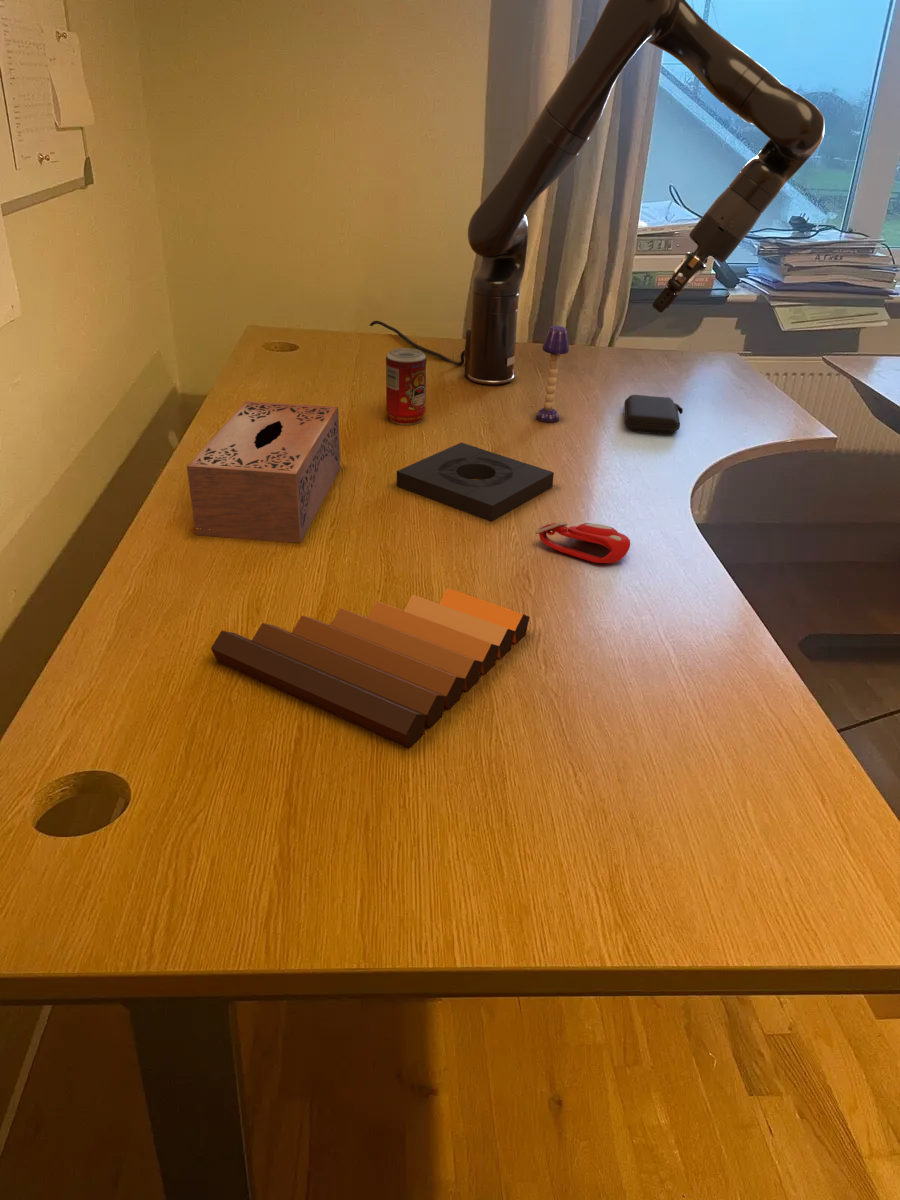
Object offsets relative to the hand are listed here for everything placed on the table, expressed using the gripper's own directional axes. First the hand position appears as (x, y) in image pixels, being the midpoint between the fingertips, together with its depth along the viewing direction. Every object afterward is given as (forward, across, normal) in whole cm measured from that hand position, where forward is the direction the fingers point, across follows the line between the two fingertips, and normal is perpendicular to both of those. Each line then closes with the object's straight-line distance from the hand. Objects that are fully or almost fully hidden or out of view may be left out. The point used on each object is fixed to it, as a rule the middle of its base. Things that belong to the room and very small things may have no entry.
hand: (659, 307), depth 154 cm
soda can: (+40, +14, -22) cm, 48 cm away
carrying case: (+16, -2, +12) cm, 21 cm away
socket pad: (+32, +37, -4) cm, 49 cm away
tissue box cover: (+48, +52, -25) cm, 75 cm away
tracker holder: (+24, +50, +14) cm, 58 cm away
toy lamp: (+27, +4, -3) cm, 27 cm away
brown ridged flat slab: (+36, +82, +2) cm, 90 cm away
